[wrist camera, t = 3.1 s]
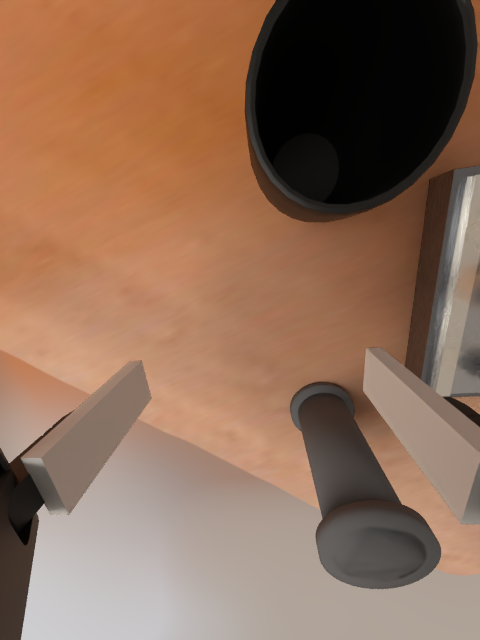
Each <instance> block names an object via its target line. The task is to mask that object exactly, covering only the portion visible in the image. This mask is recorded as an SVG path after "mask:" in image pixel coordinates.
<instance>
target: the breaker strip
mask: <svg viewBox="0 0 480 640" xmlns="http://www.w3.org/2000/svg"><path fill="white" fill-rule="evenodd" d="M405 367H406V368H407V369H408V370H410V371H411V372H412V373H413V374H414V375H416V376H417V377H418V378H419V379H421V380H422V381H423V382H424V383H426V384H427V385H428V386H429V387H431V388H432V389H433V390H434V391H435V392H437V393H438V394H439V395H440V396H442V397H470V396H480V379H479V377H478V374H477V372H478V370H479V369H480V166H474V167H467V168H460V169H454V170H452V171H449V172H447V173H444V174H442V175H439V176H437V177H434V178H431V179H430V182H429V190H428V197H427V205H426V212H425V220H424V228H423V235H422V243H421V250H420V258H419V266H418V273H417V281H416V288H415V296H414V303H413V311H412V319H411V326H410V334H409V341H408V349H407V356H406V364H405Z"/></svg>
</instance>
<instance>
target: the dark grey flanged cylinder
mask: <svg viewBox="0 0 480 640" xmlns="http://www.w3.org/2000/svg"><path fill="white" fill-rule="evenodd" d="M290 412H291V417H292V420H293V422H294V424H295V426H296V427H297V428H298V429H299V430H300V431H302V434H303V438H304V443H305V447H306V451H307V455H308V459H309V464H310V468H311V472H312V476H313V480H314V485H315V489H316V493H317V497H318V501H319V506H320V510H321V514H322V518H323V520H322V521H321V522H320V523H319V526H318V527H317V531H316V543H317V548H318V553H319V558H320V561H321V564H322V565H323V567H324V568H325V570H326V571H327V572H328V573H329V574H331V575H332V576H333V577H335V578H336V579H338V580H340V581H342V582H345V583H347V584H350V585H353V586H357V587H362V588H369V589H388V588H396V587H401V586H405V585H408V584H411V583H414V582H416V581H418V580H420V579H422V578H424V577H425V576H427V575H428V574H429V573H430V572H432V571H433V570H434V568H435V567H436V566H437V564H438V563H439V560H440V557H441V547H440V544H439V542H438V540H437V538H436V537H435V535H434V534H433V532H432V530H431V529H430V527H429V525H428V524H427V522H426V521H425V519H424V518H423V517H422V516H421V515H420V514H419V513H418V512H416V511H414V510H413V509H411V508H409V507H407V506H405V505H402V504H401V502H400V500H399V498H398V497H397V495H396V493H395V491H394V489H393V488H392V486H391V484H390V482H389V481H388V479H387V477H386V475H385V473H384V472H383V470H382V468H381V466H380V464H379V463H378V461H377V459H376V457H375V456H374V454H373V452H372V450H371V448H370V447H369V445H368V443H367V441H366V440H365V438H364V436H363V434H362V432H361V431H360V429H359V427H358V425H357V423H356V422H355V420H354V413H355V408H354V404H353V402H352V400H351V398H350V397H349V395H348V394H347V392H346V391H345V390H344V389H342V388H341V387H339V386H337V385H335V384H332V383H327V382H317V383H312V384H309V385H307V386H305V387H303V388H301V389H300V390H299V391H298V392H297V393H296V394H295V395H294V397H293V398H292V401H291V404H290Z"/></svg>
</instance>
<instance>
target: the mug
mask: <svg viewBox="0 0 480 640" xmlns="http://www.w3.org/2000/svg"><path fill="white" fill-rule="evenodd" d="M476 54H477V33H476V24H475V15H474V9H473V6H472V3H471V0H276V2H275V3H274V5H273V6H272V8H271V10H270V11H269V13H268V14H267V16H266V18H265V21H264V23H263V26H262V28H261V31H260V33H259V36H258V38H257V41H256V43H255V46H254V48H253V51H252V55H251V60H250V65H249V70H248V75H247V79H246V92H245V119H246V129H247V138H248V146H249V153H250V159H251V166H252V168H253V171H254V174H255V176H256V179H257V182H258V184H259V186H260V188H261V190H262V191H263V193H264V194H265V196H266V198H267V199H268V201H269V202H271V203H272V204H273V205H274V206H275V207H276V208H277V209H278V210H279V211H280V212H282V213H284V214H286V215H287V216H289V217H291V218H294V219H297V220H301V221H304V222H330V221H335V220H339V219H344V218H347V217H350V216H353V215H356V214H359V213H362V212H365V211H368V210H370V209H373V208H375V207H377V206H379V205H382V204H384V203H386V202H388V201H390V200H392V199H393V198H395V197H396V196H397V195H399V194H400V193H402V192H403V191H405V190H406V189H407V188H409V187H410V186H412V185H413V184H414V183H415V182H416V181H417V180H418V179H419V178H420V177H421V176H422V174H423V173H424V172H425V171H426V170H427V169H428V168H429V167H430V166H431V165H432V164H433V163H434V162H435V160H436V159H437V157H438V156H439V155H440V153H441V152H442V150H443V149H444V147H445V146H446V145H447V143H448V142H449V140H450V139H451V137H452V135H453V133H454V131H455V129H456V127H457V125H458V123H459V121H460V118H461V116H462V114H463V112H464V110H465V108H466V104H467V101H468V97H469V93H470V90H471V86H472V83H473V79H474V74H475V64H476Z"/></svg>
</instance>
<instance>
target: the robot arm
mask: <svg viewBox="0 0 480 640" xmlns="http://www.w3.org/2000/svg"><path fill="white" fill-rule="evenodd" d="M363 392H364V393H365V394H366V396H367V397H368V398H369V400H370V401H371V402H372V404H373V405H374V407H375V408H376V409H377V411H378V412H379V413H380V415H381V416H382V417H383V419H384V420H385V422H386V423H387V424H388V426H389V427H390V428H391V430H392V431H393V432H394V434H395V435H396V437H397V438H398V439H399V441H400V442H401V443H402V445H403V446H404V447H405V449H406V450H407V451H408V453H409V454H410V456H411V457H412V458H413V460H414V461H415V462H416V464H417V465H418V466H419V468H420V469H421V471H422V472H423V473H424V475H425V476H426V477H427V479H428V480H429V481H430V483H431V484H432V486H433V487H434V488H435V490H436V491H437V492H438V494H439V495H440V496H441V498H442V499H443V501H444V502H445V503H446V505H447V506H448V507H449V509H450V510H451V511H452V513H453V514H454V516H455V517H456V518H457V520H458V521H459V522H460V524H480V415H479V414H478V413H477V412H475V411H474V410H473V409H471V408H470V407H469V406H467V405H466V404H464V403H462V402H460V401H458V400H456V399H454V398H452V397H442V396H440V395H439V394H438V393H437V392H435V391H434V390H433V389H432V388H431V387H429V386H428V385H427V384H426V383H424V382H423V381H422V380H421V379H419V378H418V377H417V376H416V375H414V374H413V373H412V372H411V371H410V370H408V369H407V368H406V367H405V366H403V365H402V364H401V363H400V362H398V361H397V360H396V359H395V358H393V357H392V356H391V355H390V354H389V353H387V352H386V351H385V350H384V349H382V348H381V347H376V348H366V356H365V368H364V381H363ZM150 400H151V394H150V390H149V386H148V382H147V379H146V375H145V371H144V367H143V363H142V360H141V361H130V362H128V363H127V364H126V365H125V366H124V367H123V368H122V369H121V370H119V371H118V372H117V373H116V374H115V375H114V376H113V377H111V378H110V379H109V380H108V381H107V382H106V383H105V384H104V385H102V386H101V387H100V388H99V389H98V390H97V391H96V392H95V393H93V394H92V395H91V396H90V397H89V398H88V399H87V400H86V401H84V402H83V403H82V404H81V405H80V406H79V407H78V408H76V409H75V410H74V411H72V412H70V413H69V414H67V415H66V416H64V417H62V418H61V419H60V420H59V421H58V422H57V423H56V424H54V425H53V426H52V428H50V429H49V430H48V431H46V432H45V433H44V435H43V436H41V437H39V438H38V439H37V440H36V441H35V442H34V443H33V444H31V445H30V446H29V447H28V448H27V449H26V450H24V451H23V452H22V453H21V454H20V455H19V456H17V457H16V458H15V459H14V460H13V461H12V462H11V463H8V461H7V459H6V457H5V456H4V454H3V452H2V450H1V448H0V640H21V634H22V627H23V621H24V615H25V607H26V602H27V595H28V587H29V582H30V575H31V568H32V562H33V556H34V549H35V543H36V536H37V530H38V523H39V520H38V515H37V513H36V512H37V511H38V510H39V509H40V508H41V506H42V505H43V504H45V506H46V507H47V509H48V511H49V513H50V514H56V515H69V514H70V513H71V511H72V510H73V509H74V507H75V506H76V504H77V503H78V501H79V500H80V499H81V497H82V496H83V494H84V493H85V492H86V490H87V489H88V487H89V486H90V484H91V483H92V482H93V480H94V479H95V477H96V476H97V474H98V473H99V472H100V470H101V469H102V468H103V466H104V465H105V463H106V462H107V461H108V459H109V457H110V456H111V455H112V453H113V452H114V451H115V449H116V448H117V446H118V445H119V444H120V442H121V441H122V439H123V438H124V436H125V435H126V434H127V432H128V431H129V429H130V428H131V427H132V425H133V424H134V422H135V421H136V420H137V418H138V417H139V415H140V414H141V412H142V411H143V410H144V408H145V407H146V405H147V404H148V403H149V401H150Z"/></svg>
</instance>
